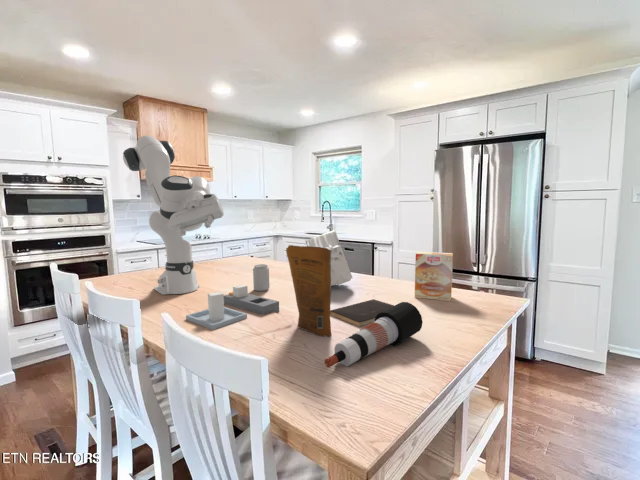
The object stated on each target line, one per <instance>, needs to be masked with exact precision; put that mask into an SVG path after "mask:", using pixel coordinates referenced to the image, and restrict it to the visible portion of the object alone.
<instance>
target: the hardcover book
mask: <svg viewBox="0 0 640 480" xmlns="http://www.w3.org/2000/svg"><path fill="white" fill-rule="evenodd" d="M393 306H395V305H394V304H391V303H387V302H384V301H381V300H377V299H370V300H365V301H362V302H358V303H354V304H349V305H346V306H342V307H339V308H334V309H330V316H333V317H336V318H338V319H340V320H343V321H345V322H347V323H350V324H353V325H355V326H357V327H362V326H365V325H369V324H371V323H373V322H375V318H376V316H377V315H378V314H379V313H381V312H383V311H385V310H387V309H389V308H391V307H393Z"/></svg>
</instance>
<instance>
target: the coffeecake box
mask: <svg viewBox="0 0 640 480" xmlns="http://www.w3.org/2000/svg"><path fill="white" fill-rule="evenodd" d="M453 258H454V253H453V252H438V251H437V252H436V251H435V252H434V251H433V252H432V251H416V252H415V265H414V271H415V273H414V298H418V299H425V300H429V299H430V300H437V301H447V302H451V301H452V289H453V286H452V285H453V263H454V261H453V260H454V259H453Z"/></svg>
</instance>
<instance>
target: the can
mask: <svg viewBox="0 0 640 480" xmlns="http://www.w3.org/2000/svg"><path fill="white" fill-rule="evenodd" d="M252 277H253V280H252V281H253V290H254V291H256V292H267V291H268V290H269V289H270V268H269V267H268V264H255V265H253V269H252Z"/></svg>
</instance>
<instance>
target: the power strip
mask: <svg viewBox="0 0 640 480" xmlns="http://www.w3.org/2000/svg"><path fill="white" fill-rule="evenodd" d="M248 292H249V291H248V285H244V284H238V285H235V286H233V287H232V291H231V292H229V293H228V294H224V305H225V304H226V305H229V306H233V307H236V308H239V309H242V310H243V309H244V310H246V311H249V312H253V313H257V314H260V315H263V316H264V315H266V314H270V313H272V312H274V313H279V312H280V301H278V300H276V299H275V300H274V299H270V298H267V297H264V296H263V297H262V296H259V295H254V294H251V293H248Z"/></svg>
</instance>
